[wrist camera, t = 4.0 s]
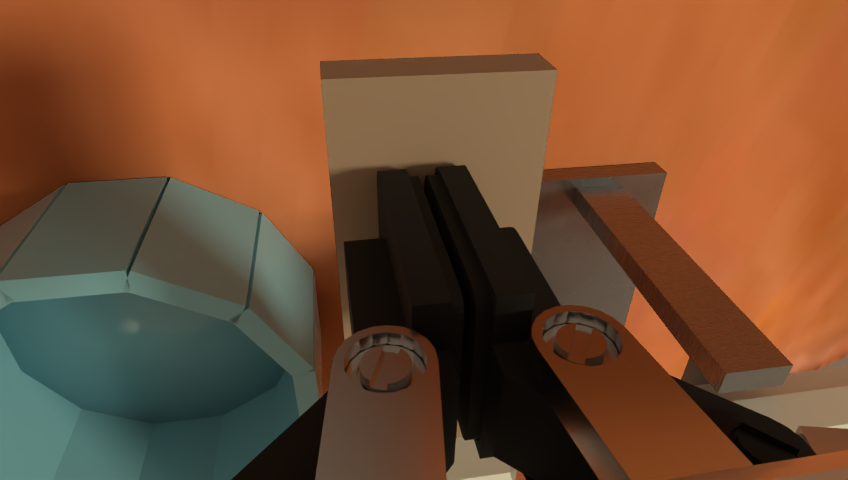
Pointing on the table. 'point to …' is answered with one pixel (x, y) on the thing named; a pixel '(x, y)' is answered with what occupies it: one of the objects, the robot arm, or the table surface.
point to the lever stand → (644, 270)
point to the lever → (486, 184)
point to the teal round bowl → (149, 334)
